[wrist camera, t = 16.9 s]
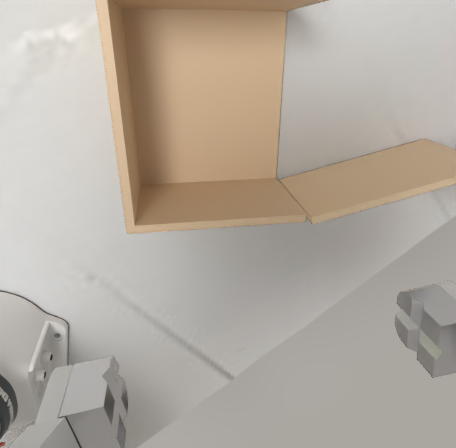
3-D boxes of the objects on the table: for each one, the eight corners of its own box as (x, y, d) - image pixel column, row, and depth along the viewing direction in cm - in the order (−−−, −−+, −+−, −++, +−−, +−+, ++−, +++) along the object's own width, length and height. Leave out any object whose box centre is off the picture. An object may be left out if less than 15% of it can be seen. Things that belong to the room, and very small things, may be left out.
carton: (273, 181, 48) (305, 221, 37) (135, 188, 45) (126, 233, 34) (285, 2, 39) (331, -13, 28) (113, -1, 36) (93, -19, 26)
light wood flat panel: (281, 189, 48) (333, 254, 33) (278, 175, 47) (331, 236, 32) (424, 148, 49) (539, 195, 34) (425, 134, 48) (543, 175, 33)
